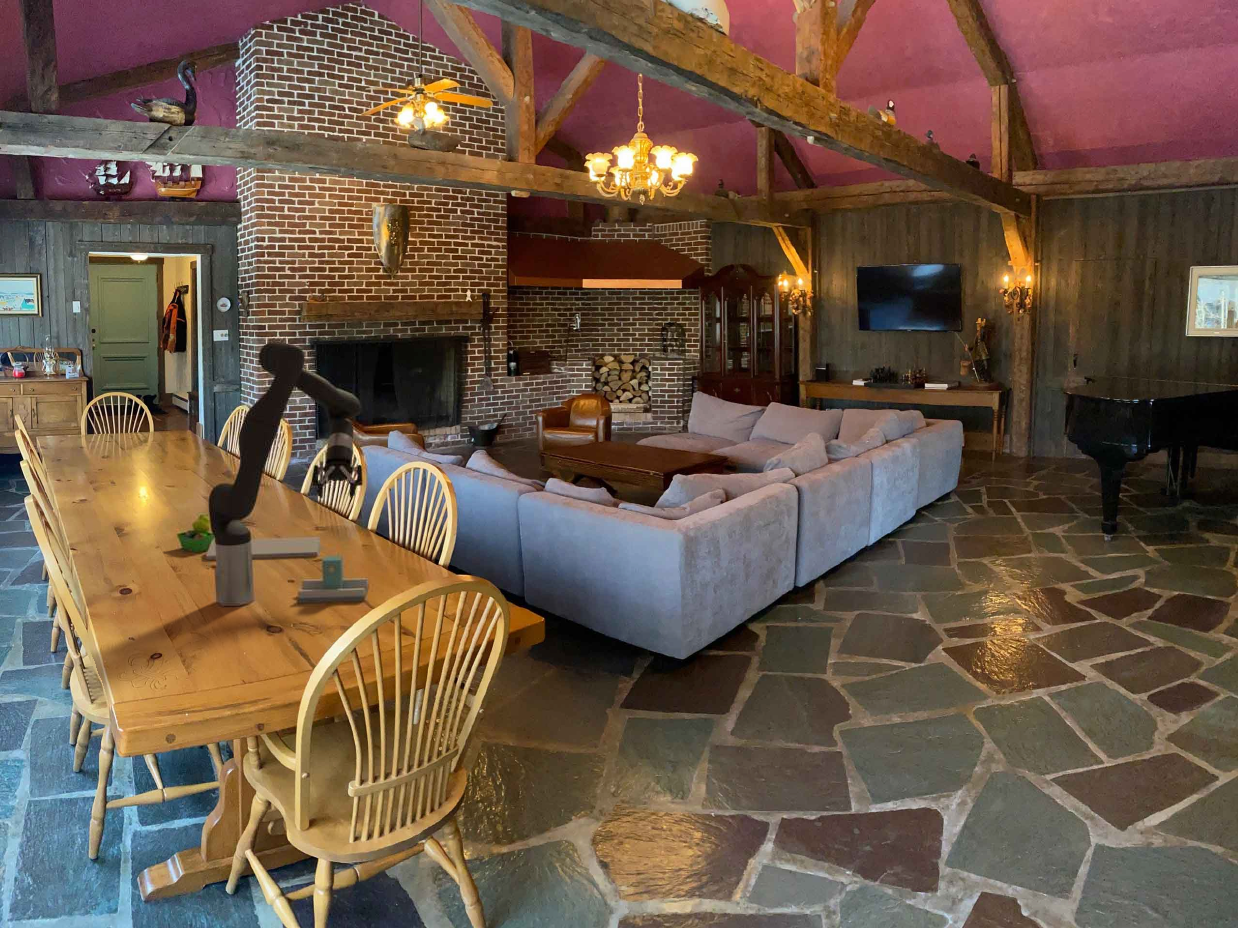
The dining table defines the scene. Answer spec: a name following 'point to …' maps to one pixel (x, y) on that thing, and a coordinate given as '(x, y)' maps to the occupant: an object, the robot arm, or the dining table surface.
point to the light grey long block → (278, 547)
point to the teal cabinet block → (332, 572)
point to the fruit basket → (197, 535)
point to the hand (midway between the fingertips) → (336, 496)
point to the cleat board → (333, 591)
